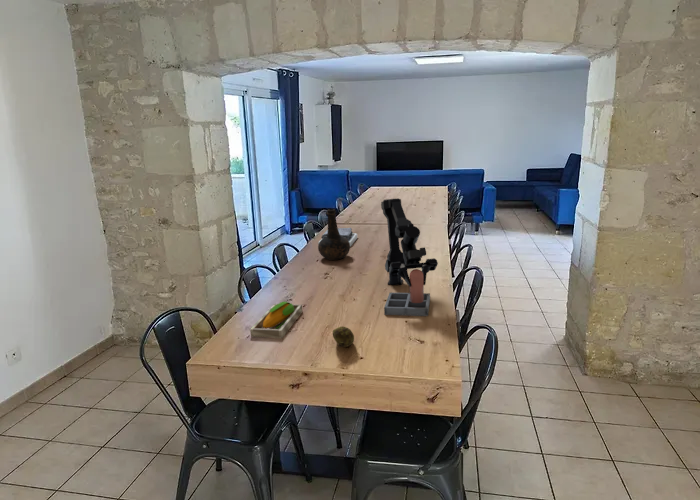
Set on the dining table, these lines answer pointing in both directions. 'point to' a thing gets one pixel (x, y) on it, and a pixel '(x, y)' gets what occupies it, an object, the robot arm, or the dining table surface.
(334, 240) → the brown vase
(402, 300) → the gray compartment tray
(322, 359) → the dining table surface
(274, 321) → the corn
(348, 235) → the towel
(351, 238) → the towel frame
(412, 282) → the pink dome-topped cylinder
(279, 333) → the frame
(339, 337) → the potato
